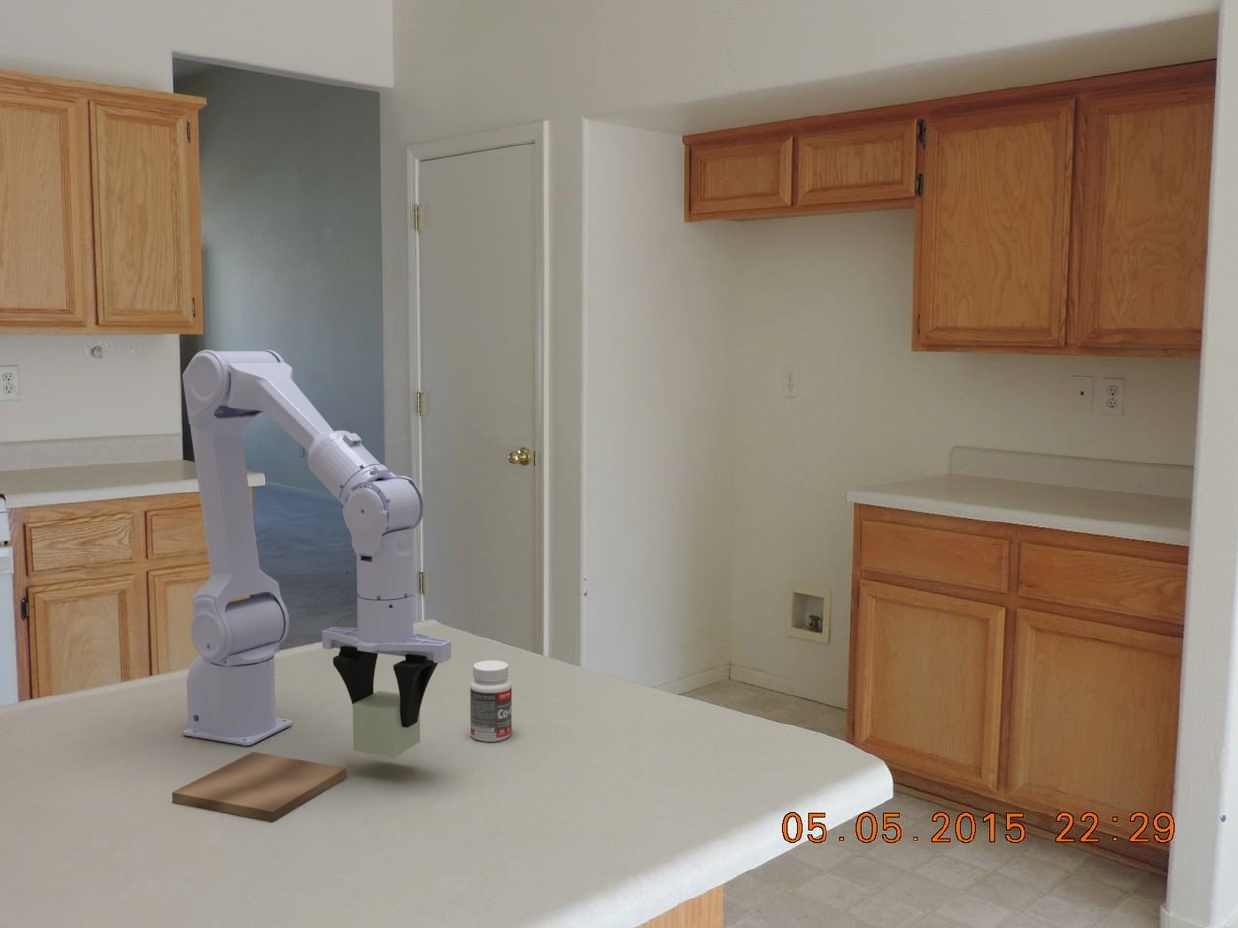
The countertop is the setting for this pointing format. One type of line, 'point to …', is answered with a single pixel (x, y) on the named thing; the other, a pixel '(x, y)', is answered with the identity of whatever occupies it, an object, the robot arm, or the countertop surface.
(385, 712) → the sage cube
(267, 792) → the walnut pad
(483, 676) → the pill bottle
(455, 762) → the countertop surface
